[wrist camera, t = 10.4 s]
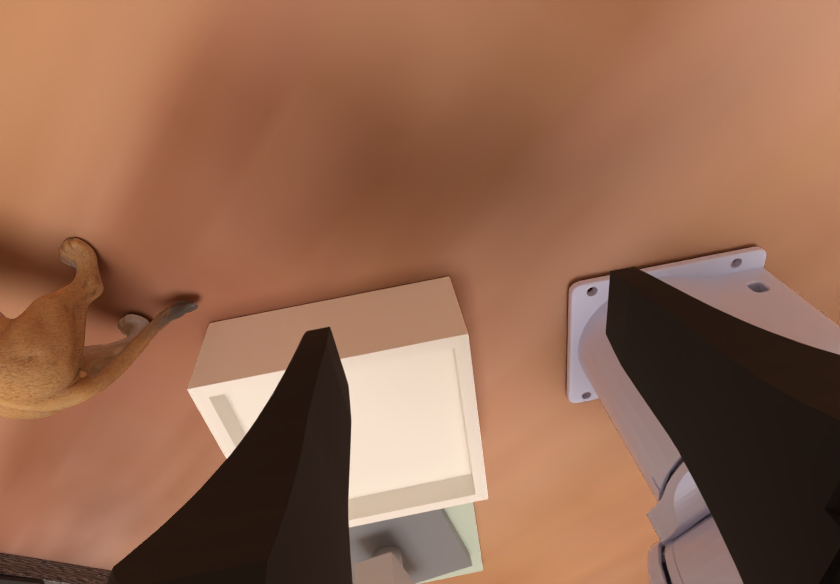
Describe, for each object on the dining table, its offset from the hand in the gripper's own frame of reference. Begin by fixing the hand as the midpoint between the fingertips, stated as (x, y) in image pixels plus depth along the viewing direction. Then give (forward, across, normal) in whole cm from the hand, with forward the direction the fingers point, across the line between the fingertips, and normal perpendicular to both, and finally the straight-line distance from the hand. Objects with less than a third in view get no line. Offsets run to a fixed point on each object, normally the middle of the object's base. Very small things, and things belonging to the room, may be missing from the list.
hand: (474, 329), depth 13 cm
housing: (+9, +5, +10) cm, 15 cm away
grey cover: (+9, +6, +24) cm, 26 cm away
